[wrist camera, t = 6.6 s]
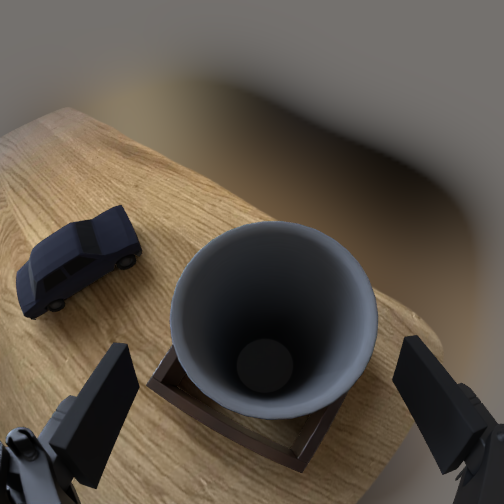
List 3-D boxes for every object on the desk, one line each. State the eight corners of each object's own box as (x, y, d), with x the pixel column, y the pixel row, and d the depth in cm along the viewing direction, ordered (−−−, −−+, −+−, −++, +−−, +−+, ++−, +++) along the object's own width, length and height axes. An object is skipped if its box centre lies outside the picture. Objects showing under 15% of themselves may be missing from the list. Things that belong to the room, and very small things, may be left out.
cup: (204, 371, 22) (129, 322, 9) (257, 309, 25) (258, 191, 11) (271, 424, 20) (295, 461, 7) (323, 357, 22) (409, 290, 9)
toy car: (150, 258, 27) (131, 230, 23) (37, 327, 23) (6, 310, 19) (130, 217, 29) (113, 187, 25) (27, 282, 26) (1, 262, 21)
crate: (359, 335, 23) (378, 320, 19) (293, 460, 18) (302, 473, 14) (238, 274, 26) (234, 249, 22) (164, 389, 21) (145, 385, 17)
